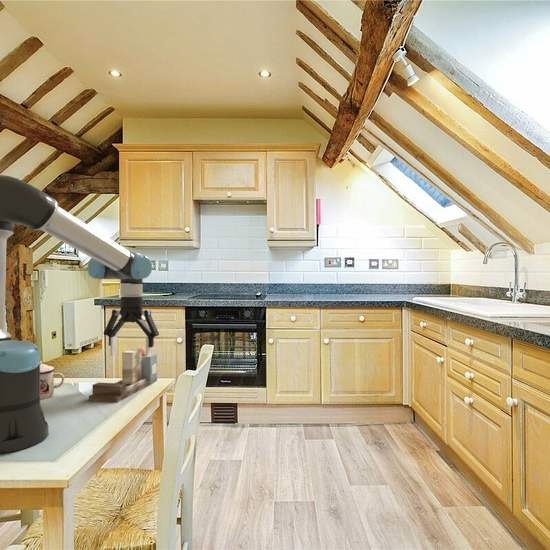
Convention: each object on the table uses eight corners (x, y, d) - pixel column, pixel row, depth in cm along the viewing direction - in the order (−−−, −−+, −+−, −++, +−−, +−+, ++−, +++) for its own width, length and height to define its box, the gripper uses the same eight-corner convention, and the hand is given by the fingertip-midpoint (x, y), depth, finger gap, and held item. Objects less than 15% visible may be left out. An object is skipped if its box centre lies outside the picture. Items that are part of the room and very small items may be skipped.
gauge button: (142, 360, 148) (142, 349, 148) (135, 359, 148) (135, 349, 148) (146, 358, 151) (146, 347, 151) (139, 358, 151) (139, 347, 151)
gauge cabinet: (151, 384, 146) (150, 356, 146) (125, 383, 148) (125, 356, 148) (157, 380, 151) (157, 354, 151) (132, 379, 153) (132, 353, 153)
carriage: (132, 384, 140) (132, 352, 140) (122, 383, 141) (122, 352, 141) (141, 379, 146) (141, 349, 146) (131, 379, 147) (131, 349, 147)
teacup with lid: (20, 402, 126) (19, 365, 126) (25, 394, 135) (24, 360, 135) (63, 397, 131) (62, 361, 131) (65, 390, 139) (65, 356, 139)
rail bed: (117, 402, 126) (117, 387, 126) (88, 400, 127) (88, 386, 127) (157, 380, 151) (157, 368, 151) (132, 379, 153) (132, 367, 153)
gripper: (168, 296, 145) (168, 355, 144) (106, 295, 150) (105, 352, 149) (158, 296, 137) (158, 359, 137) (93, 296, 142) (92, 356, 142)
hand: (130, 355), depth 143 cm, fingers open, 13 cm apart
